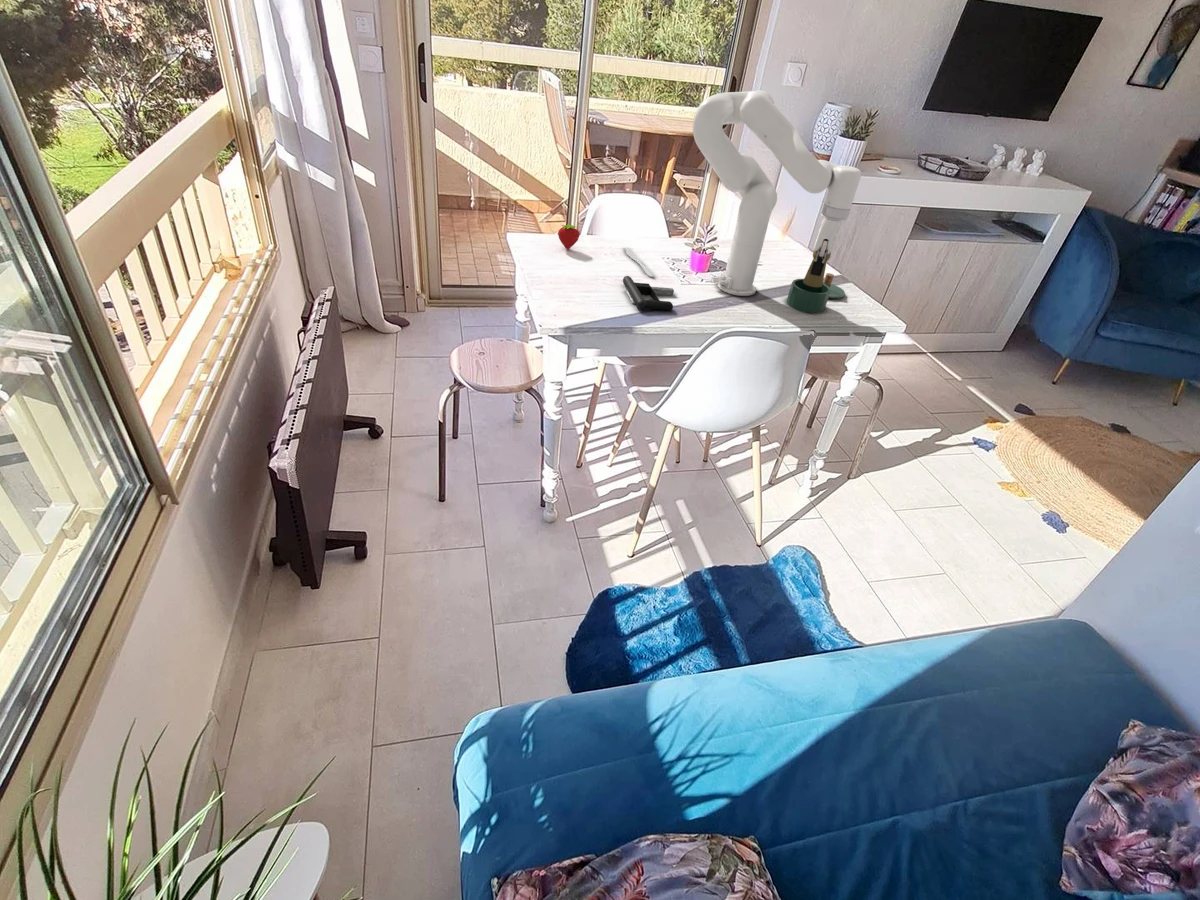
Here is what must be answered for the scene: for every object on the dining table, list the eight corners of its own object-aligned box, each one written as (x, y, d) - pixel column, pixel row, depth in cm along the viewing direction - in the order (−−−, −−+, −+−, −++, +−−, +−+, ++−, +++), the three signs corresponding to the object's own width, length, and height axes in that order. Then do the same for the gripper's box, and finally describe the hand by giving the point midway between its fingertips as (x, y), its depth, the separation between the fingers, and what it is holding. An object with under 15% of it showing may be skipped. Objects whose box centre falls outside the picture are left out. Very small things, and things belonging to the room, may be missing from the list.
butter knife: (647, 276, 205) (655, 275, 206) (622, 247, 226) (629, 247, 226) (647, 277, 206) (655, 277, 206) (621, 249, 226) (629, 248, 227)
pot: (800, 314, 195) (807, 294, 191) (779, 298, 203) (785, 279, 200) (831, 312, 199) (838, 293, 195) (809, 296, 207) (815, 278, 204)
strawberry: (578, 253, 217) (580, 224, 211) (556, 251, 217) (558, 222, 211) (578, 247, 222) (581, 219, 216) (557, 245, 221) (559, 216, 215)
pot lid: (820, 301, 205) (826, 283, 202) (797, 285, 215) (802, 267, 211) (851, 299, 210) (858, 281, 206) (828, 283, 219) (833, 266, 216)
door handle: (667, 278, 200) (619, 274, 196) (687, 305, 185) (635, 301, 181) (665, 288, 202) (617, 284, 198) (684, 315, 187) (633, 311, 183)
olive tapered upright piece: (823, 288, 194) (834, 253, 187) (803, 285, 195) (814, 250, 188) (821, 281, 199) (832, 247, 192) (802, 278, 199) (812, 244, 193)
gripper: (824, 203, 191) (807, 261, 202) (819, 216, 178) (800, 278, 189) (850, 208, 189) (830, 266, 200) (846, 221, 176) (825, 283, 187)
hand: (816, 271), depth 194 cm, fingers closed on olive tapered upright piece, 4 cm apart
